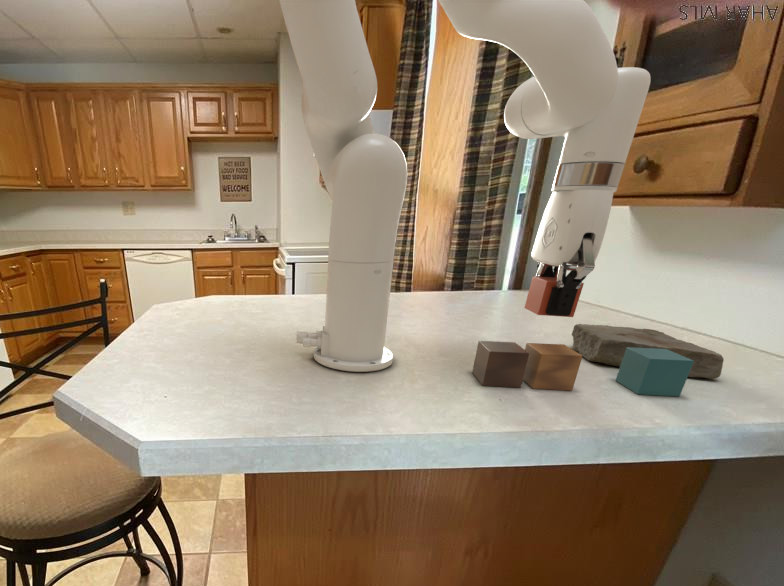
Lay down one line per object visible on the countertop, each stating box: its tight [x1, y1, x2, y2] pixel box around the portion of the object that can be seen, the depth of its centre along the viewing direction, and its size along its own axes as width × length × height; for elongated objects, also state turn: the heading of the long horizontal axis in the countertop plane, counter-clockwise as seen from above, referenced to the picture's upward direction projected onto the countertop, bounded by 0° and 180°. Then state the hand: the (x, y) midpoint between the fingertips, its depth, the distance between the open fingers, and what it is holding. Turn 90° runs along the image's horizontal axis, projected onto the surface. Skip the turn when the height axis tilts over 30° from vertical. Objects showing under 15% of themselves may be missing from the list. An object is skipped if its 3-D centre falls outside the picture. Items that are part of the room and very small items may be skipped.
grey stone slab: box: [571, 323, 724, 380], centre depth 68 cm, size 17×15×4 cm
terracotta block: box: [524, 275, 585, 318], centre depth 64 cm, size 5×5×5 cm
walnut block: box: [471, 340, 529, 389], centre depth 59 cm, size 5×5×5 cm
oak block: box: [523, 342, 583, 391], centre depth 59 cm, size 5×5×5 cm
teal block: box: [615, 347, 694, 397], centre depth 57 cm, size 5×5×5 cm
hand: (548, 309), depth 65 cm, fingers closed on terracotta block, 5 cm apart
